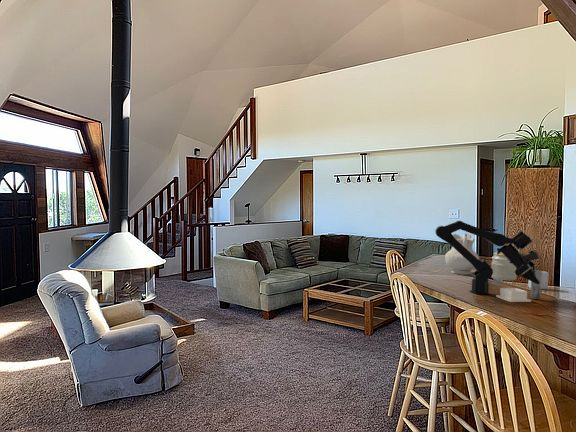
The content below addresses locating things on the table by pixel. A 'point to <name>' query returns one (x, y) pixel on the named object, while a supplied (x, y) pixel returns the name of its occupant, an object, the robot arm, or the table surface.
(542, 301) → the table surface
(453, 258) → the ceramic pitcher
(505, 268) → the jar
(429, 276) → the table surface
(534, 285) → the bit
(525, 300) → the socket
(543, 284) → the medicine box
